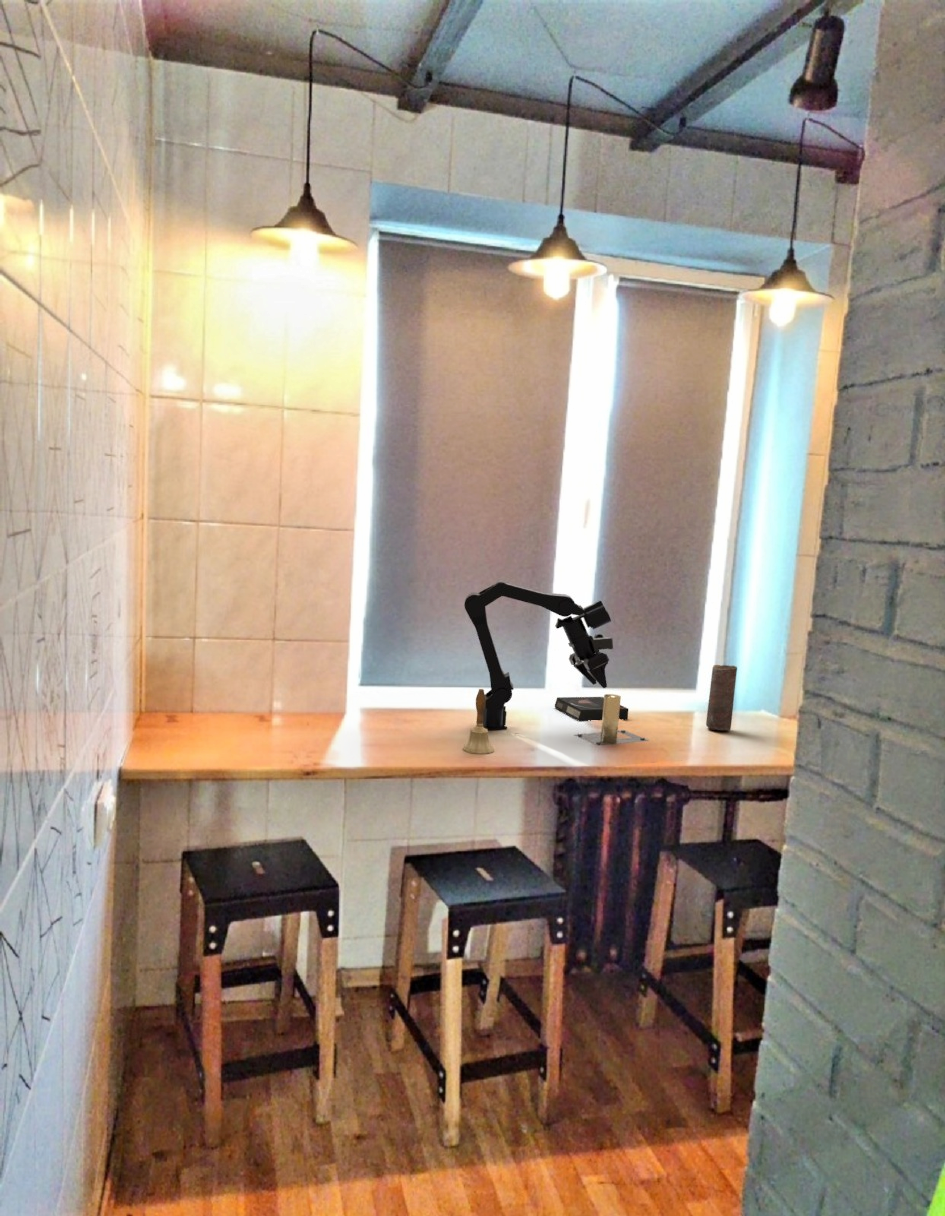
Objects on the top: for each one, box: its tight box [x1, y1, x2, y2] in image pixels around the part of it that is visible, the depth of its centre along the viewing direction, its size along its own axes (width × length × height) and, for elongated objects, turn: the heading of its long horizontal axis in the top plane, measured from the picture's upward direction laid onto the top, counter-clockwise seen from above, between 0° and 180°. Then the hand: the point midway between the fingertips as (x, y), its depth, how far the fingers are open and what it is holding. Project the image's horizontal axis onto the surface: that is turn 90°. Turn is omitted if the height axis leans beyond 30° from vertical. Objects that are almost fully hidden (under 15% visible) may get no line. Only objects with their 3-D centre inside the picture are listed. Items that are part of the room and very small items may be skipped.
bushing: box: [600, 693, 622, 743], centre depth 252 cm, size 4×4×12 cm
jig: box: [573, 729, 650, 746], centre depth 257 cm, size 18×11×2 cm, turn 120°
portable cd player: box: [554, 696, 629, 722], centre depth 290 cm, size 16×17×4 cm
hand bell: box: [462, 688, 495, 755], centre depth 240 cm, size 8×8×16 cm
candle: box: [705, 664, 738, 732], centre depth 279 cm, size 8×7×20 cm
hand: (600, 685), depth 263 cm, fingers open, 9 cm apart
